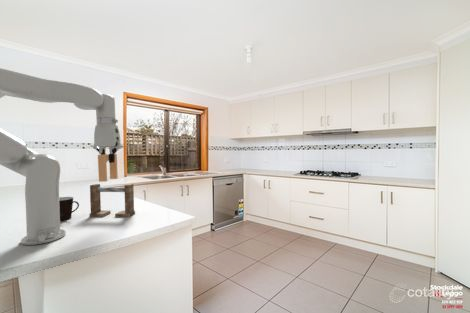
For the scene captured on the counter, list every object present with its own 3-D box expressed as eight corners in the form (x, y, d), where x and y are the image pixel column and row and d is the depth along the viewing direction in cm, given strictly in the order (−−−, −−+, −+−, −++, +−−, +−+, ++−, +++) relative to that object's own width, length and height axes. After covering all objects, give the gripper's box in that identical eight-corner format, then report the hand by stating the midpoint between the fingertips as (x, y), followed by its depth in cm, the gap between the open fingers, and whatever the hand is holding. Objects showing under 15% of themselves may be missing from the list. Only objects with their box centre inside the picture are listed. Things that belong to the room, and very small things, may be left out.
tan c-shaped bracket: (117, 178, 106) (116, 154, 106) (105, 181, 97) (104, 154, 97) (111, 178, 106) (110, 154, 106) (98, 181, 98) (97, 154, 97)
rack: (135, 213, 114) (134, 183, 114) (129, 217, 108) (128, 185, 108) (97, 213, 115) (96, 183, 115) (89, 216, 109) (88, 185, 109)
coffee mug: (47, 220, 104) (46, 199, 103) (68, 215, 111) (67, 196, 111) (60, 224, 98) (59, 202, 98) (81, 219, 106) (80, 198, 105)
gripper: (128, 122, 104) (129, 161, 105) (95, 123, 105) (96, 162, 106) (118, 121, 96) (120, 163, 97) (83, 121, 97) (85, 163, 98)
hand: (107, 162), depth 102 cm, fingers closed on tan c-shaped bracket, 3 cm apart
